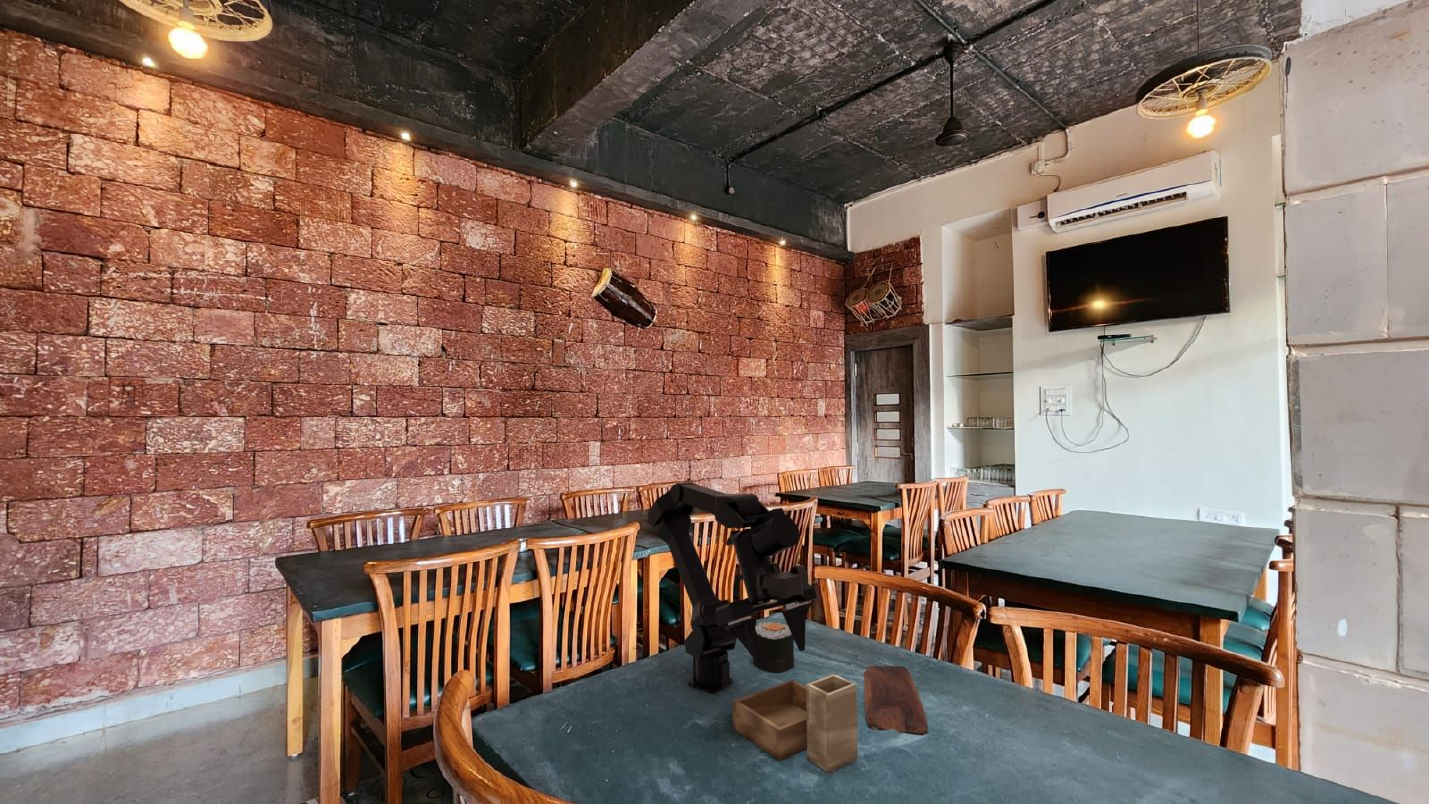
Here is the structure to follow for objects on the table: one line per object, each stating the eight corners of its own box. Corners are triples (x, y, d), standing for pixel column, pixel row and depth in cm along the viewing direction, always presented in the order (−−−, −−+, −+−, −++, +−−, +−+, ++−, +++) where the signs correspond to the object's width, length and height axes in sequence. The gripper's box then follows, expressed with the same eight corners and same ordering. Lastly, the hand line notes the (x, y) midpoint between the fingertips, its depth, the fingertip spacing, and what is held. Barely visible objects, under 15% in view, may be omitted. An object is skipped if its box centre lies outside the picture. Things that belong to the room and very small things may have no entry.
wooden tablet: (862, 659, 122) (912, 657, 120) (863, 669, 122) (914, 668, 120) (864, 724, 97) (928, 723, 94) (866, 737, 96) (930, 737, 94)
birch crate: (807, 758, 88) (806, 684, 89) (834, 745, 92) (833, 674, 92) (829, 773, 85) (828, 695, 85) (857, 758, 88) (856, 684, 88)
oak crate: (733, 728, 97) (732, 701, 97) (792, 705, 105) (792, 679, 105) (779, 761, 88) (779, 730, 88) (841, 732, 95) (841, 704, 96)
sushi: (771, 653, 128) (771, 616, 129) (801, 664, 122) (800, 626, 122) (745, 664, 123) (745, 625, 123) (775, 676, 117) (775, 635, 117)
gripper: (739, 558, 92) (768, 664, 86) (823, 543, 103) (854, 636, 97) (702, 576, 100) (727, 674, 94) (784, 560, 111) (810, 647, 105)
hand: (782, 657), depth 97 cm, fingers open, 9 cm apart
